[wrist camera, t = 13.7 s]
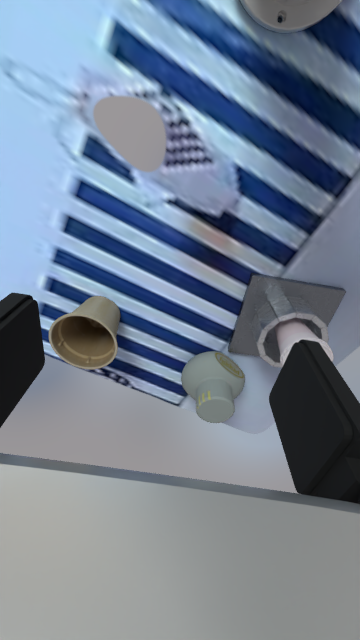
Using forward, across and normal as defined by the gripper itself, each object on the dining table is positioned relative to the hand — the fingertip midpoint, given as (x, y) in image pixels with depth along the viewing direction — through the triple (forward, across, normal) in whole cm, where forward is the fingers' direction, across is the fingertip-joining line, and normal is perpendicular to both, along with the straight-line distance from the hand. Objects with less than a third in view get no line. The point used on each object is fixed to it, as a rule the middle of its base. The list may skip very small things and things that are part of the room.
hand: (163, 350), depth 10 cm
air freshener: (+31, -9, +26) cm, 41 cm away
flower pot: (+31, +11, +18) cm, 37 cm away
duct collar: (+30, -18, +14) cm, 38 cm away
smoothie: (+30, -18, +14) cm, 37 cm away
